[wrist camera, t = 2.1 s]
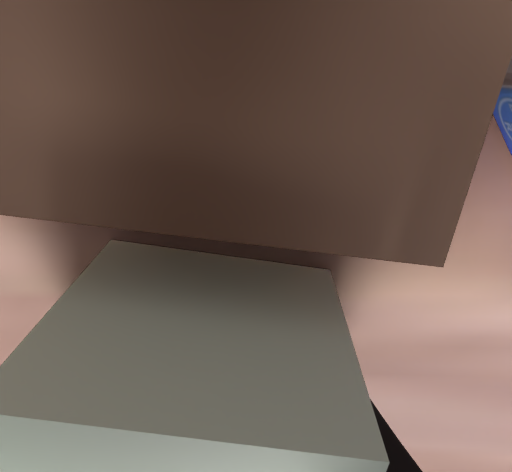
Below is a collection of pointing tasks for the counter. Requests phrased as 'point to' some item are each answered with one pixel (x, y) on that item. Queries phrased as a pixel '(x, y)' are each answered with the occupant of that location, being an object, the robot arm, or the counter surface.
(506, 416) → the counter surface
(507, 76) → the medicine box
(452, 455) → the counter surface
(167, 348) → the sage cube
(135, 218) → the walnut block
